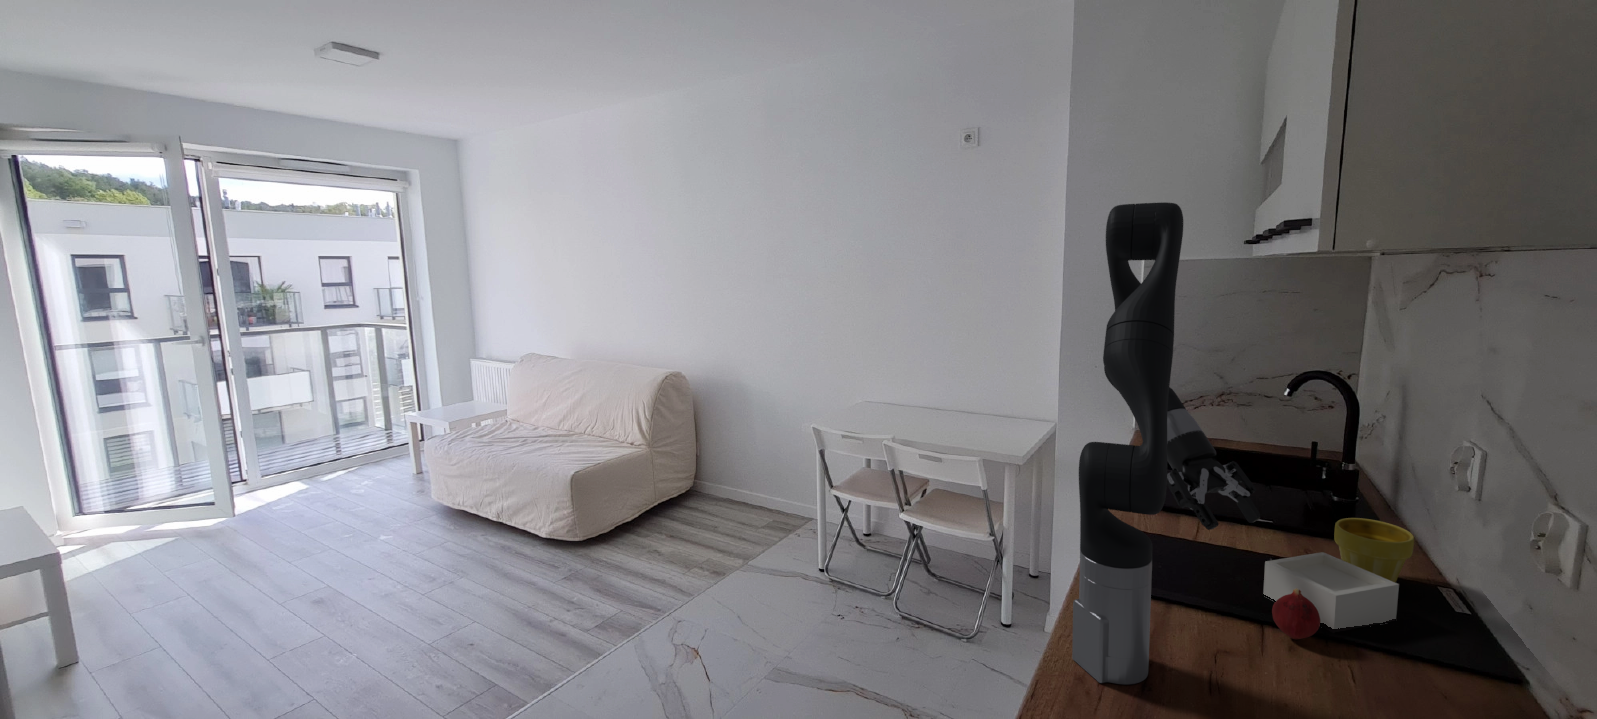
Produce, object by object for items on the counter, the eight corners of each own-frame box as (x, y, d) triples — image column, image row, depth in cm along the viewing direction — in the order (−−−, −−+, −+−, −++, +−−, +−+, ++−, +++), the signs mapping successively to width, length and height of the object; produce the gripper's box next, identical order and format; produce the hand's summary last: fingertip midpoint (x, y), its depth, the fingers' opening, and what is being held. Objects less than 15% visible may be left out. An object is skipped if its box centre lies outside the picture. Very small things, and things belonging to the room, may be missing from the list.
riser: (1333, 634, 99) (1336, 595, 98) (1263, 596, 111) (1265, 561, 110) (1395, 622, 102) (1399, 584, 101) (1320, 586, 113) (1322, 551, 112)
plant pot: (1419, 601, 107) (1425, 545, 105) (1340, 589, 111) (1344, 536, 110) (1396, 573, 116) (1401, 521, 114) (1324, 564, 121) (1328, 514, 119)
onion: (1327, 651, 95) (1331, 600, 94) (1283, 648, 96) (1286, 598, 95) (1305, 629, 101) (1308, 581, 99) (1263, 626, 102) (1266, 579, 101)
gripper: (1160, 433, 112) (1214, 521, 102) (1226, 424, 115) (1285, 508, 106) (1136, 454, 117) (1185, 539, 108) (1200, 445, 121) (1253, 527, 111)
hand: (1234, 524), depth 107 cm, fingers open, 8 cm apart
